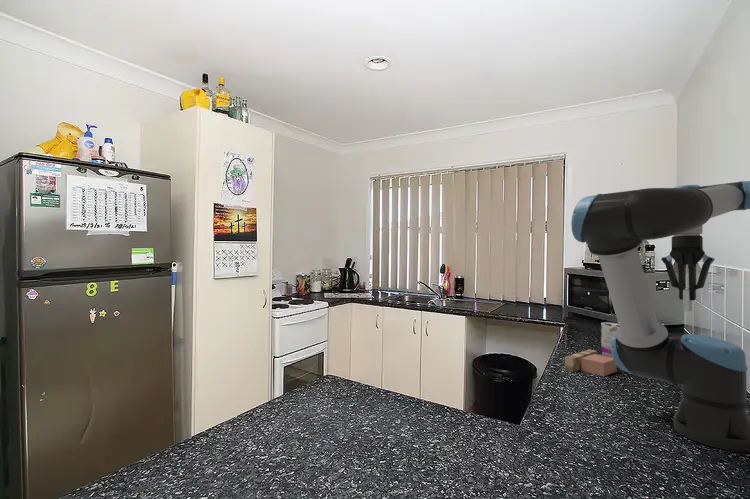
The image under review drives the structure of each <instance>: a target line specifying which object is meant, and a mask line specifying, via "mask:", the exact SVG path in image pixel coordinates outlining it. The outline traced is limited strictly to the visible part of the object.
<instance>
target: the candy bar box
mask: <svg viewBox="0 0 750 499" xmlns="http://www.w3.org/2000/svg"><path fill="white" fill-rule="evenodd" d="M619 327H620V326H619V323H616V322H610V321H605V322H601V323H600V346H601V348H600V352H601V354H600V355H602V356H606V357H611V358H613V357H612V353H611V349H612V346H611V341H612V338H613V336H614V334H615V333H616V331H617V329H618V328H619ZM617 368H619V367H618V366H617Z"/></svg>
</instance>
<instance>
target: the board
mask: <svg viewBox="0 0 750 499" xmlns="http://www.w3.org/2000/svg"><path fill="white" fill-rule="evenodd" d="M593 354H597V355H598V353H597V350H593V349H585V350H582V351H580V352H576V353H574V354H570V355H567V356H564V371H565V372H566V371H567V372H571V373H575V372H577V371H580V370H581V358H583V357H586V356H590V355H593Z"/></svg>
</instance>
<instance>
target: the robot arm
mask: <svg viewBox="0 0 750 499" xmlns="http://www.w3.org/2000/svg"><path fill="white" fill-rule="evenodd" d="M747 210H750V180H742V181H735V182H727V183H719V184H712V185H703V186H700V184H699V185H698V184H686V185H678V186H674V187H648V188H647V187H646V188H640V189H634V190H626V191H618V192H609V193H597V194H596V195H595V194H594V195H588V196H585V197H582V198H581V199H579V201H578V202H577V204H576V205H575V206H574V209H573V212H572V216H571V223H570V225H571V232H572V236H573V238H574V239H575V240H576V241H577V242H579V243H582V244H584V243H586V245H587V248H588V251H589V252H590V254H592V255H594V256H597V257H598V261H599V264H600V267H601V271H602V273H603V276H604V281H605V283H606V287H607V290H608V292H609V296H610V299H611V303H612V306H613V309H614V310H613V311H614V312H615V316H616V319H617V322H618V324H619V326H620V327H619V328H618V329H617V331H616V333H615V334H614V336H613V338H612V341H611V346H612V349H611V353H612V357H613V359H614V361H615V363H616V365H617V366H618V367H617V368H618V369H620V370H621V371H624V372H627V373H629V374H632V375H634V376H638V377H643V378H644V377H645V378H647V379H653V380H657V381H660V382H661V381H662V382H666V383H669V384H674V385H678V386H681V392H682V394H681V396H682V397H681V400H680V402H679V405H678V407H677V408H676V412H675V413H674V415H673V428H674V430H675V431H676V432H677V433H678V434H680V435H682V436H683V437H685V438H688V439H689V440H691V441H694V442H696V443H699V444H702V445H705V446H707V447H711V448H714V449H715V448H716V449H720V450H726V451H731V452H750V416H749V415H750V414H749V413H748V410H747V404H748V403H747V402H748V401H747V391H748V390H747V371H748V366H747V362H746V353H745V351H744V349H743V348H741V347H740V346H738V344H737V345H736V344H734V343H732V342H730V341H726V340H723V339H721V338H717V337H713V336H707V335H698V334H695V333H694V334H693V333H692V334H691V333H685V334H682V335H683V336H682V337H681V339H677V338H672V337H673V336H670V334H669V332H668V329H667V327H666V326H664V325H663V324H662V323H660V322H659V321H658V318H657V315H656V311H655V308H654V304H653V300H652V297H651V292H650V289H649V285H648V282H647V279H646V274H645V271H644V268H643V264H642V260H641V256H640V253H639V248H640V247H641V245H643V243H644V241H651V240H653V241H654V240H657V239H664V238H668V237H671V250H670V252H669V254H668V255H667V256H664V257H661V262H662V263H663V264H664V265H665V268H666V272H667V274H668V278H669V282H670V285H671V287H673V288H675V289H677V290H678V298H679V300H682V308H683V309H682V310H683V311H684V312H691V311H693V301H696V299H697V290H700V289H703V288H704V286H705V284H706V279H707V277H708V274H709V270H710V267H711V265H712V264H713V263H714V262H715V258H714V257H711V256H709V255H707V254H706V253H705V251H704V245H703V244H704V243H703V242H704V241H703V240H704V239H703V238H704V237H703V236H702V235H701V234H703V225H704V224H706V223H707V222H708V221H709V220H710V219H712V218H714V217H718V216H721V215H724V214H727V213H730V212H734V211H747ZM673 260H674V262H676V264H677V268H678V271H677V272H678V274H677V275H678V276H677V275H676V272H675V268H674V265H673V263H672V262H673ZM701 260H702V262H703V263H702V265H701V266H702V267H701V268H700V269H701V270H700V272H699V273H700V274H699V276H698V279H697V265H698V263H699V262H700V261H701ZM687 267H688V288H687V286H686V285H687V284H686V282H687V281H686V279H687V278H686V277H687V276H686V274H687V272H686V271H687V270H686V268H687ZM677 277H678V278H677Z"/></svg>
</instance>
